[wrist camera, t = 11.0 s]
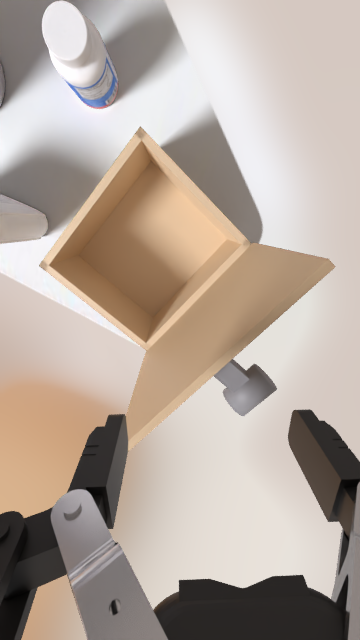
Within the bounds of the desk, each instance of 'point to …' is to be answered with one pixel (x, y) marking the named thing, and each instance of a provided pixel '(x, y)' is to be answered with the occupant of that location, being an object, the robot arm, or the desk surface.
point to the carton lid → (221, 336)
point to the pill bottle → (79, 54)
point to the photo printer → (20, 221)
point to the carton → (144, 244)
